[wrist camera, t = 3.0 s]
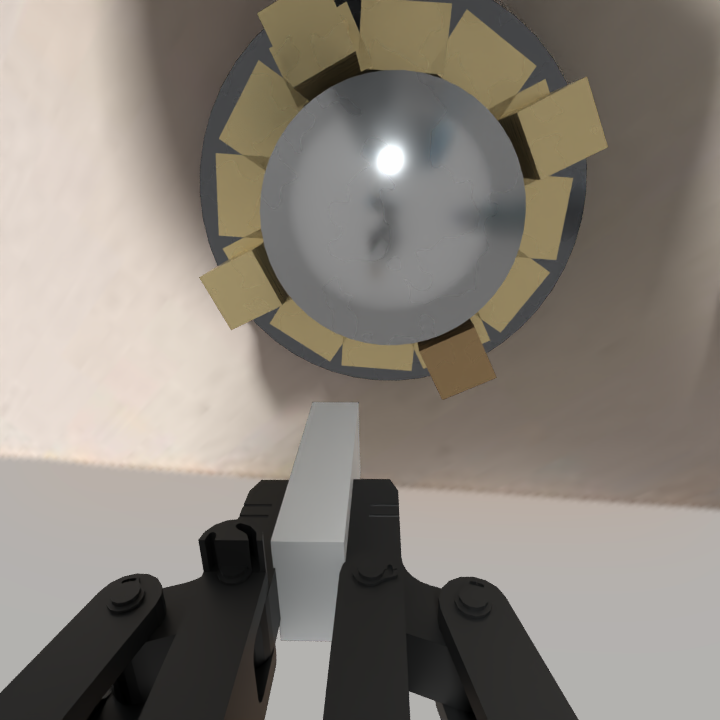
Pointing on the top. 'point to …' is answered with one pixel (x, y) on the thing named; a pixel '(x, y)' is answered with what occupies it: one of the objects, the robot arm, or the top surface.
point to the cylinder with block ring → (412, 53)
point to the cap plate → (393, 201)
